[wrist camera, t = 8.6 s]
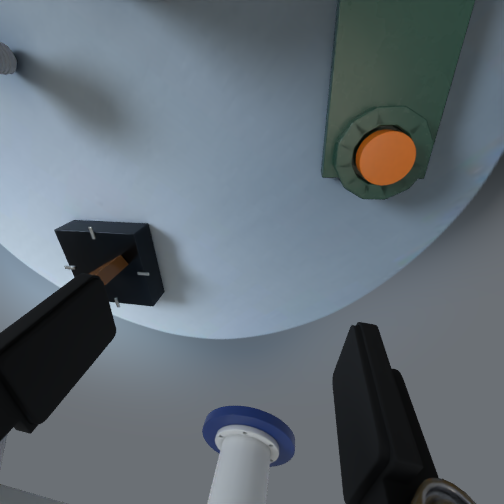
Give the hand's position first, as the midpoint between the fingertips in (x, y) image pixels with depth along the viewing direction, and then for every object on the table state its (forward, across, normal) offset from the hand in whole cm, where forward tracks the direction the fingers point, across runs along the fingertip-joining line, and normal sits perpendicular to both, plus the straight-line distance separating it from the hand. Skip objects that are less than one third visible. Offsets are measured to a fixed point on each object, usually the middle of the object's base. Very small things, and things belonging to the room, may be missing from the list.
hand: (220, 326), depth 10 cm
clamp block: (+19, +18, +11) cm, 29 cm away
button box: (+19, -7, -12) cm, 23 cm away
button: (+15, -8, -5) cm, 18 cm away
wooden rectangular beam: (+16, +19, +11) cm, 27 cm away
